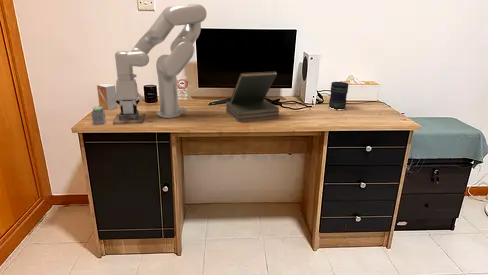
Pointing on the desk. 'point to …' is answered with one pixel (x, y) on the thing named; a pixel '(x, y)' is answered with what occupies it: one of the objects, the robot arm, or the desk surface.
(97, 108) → the button
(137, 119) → the square base with tray
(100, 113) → the button post
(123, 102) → the block
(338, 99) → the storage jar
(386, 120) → the desk surface
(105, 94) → the small box
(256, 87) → the tilted panel stand
